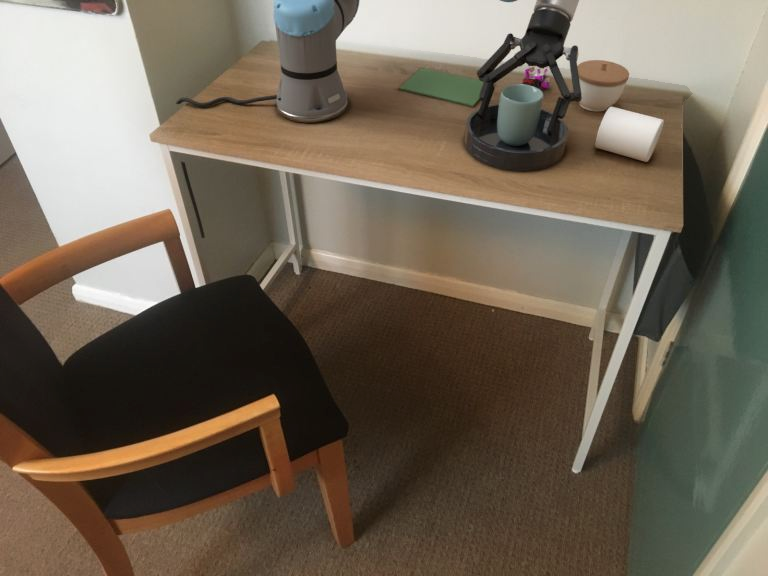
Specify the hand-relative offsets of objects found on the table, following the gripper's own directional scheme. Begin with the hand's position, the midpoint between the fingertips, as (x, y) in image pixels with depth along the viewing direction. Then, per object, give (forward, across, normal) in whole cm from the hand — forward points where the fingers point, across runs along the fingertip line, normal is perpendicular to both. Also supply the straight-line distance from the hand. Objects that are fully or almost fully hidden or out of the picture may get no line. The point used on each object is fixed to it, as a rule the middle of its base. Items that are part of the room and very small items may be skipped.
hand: (514, 125), depth 115 cm
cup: (+2, 0, -5) cm, 5 cm away
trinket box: (-15, -10, -22) cm, 29 cm away
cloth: (-10, +22, -17) cm, 30 cm away
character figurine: (-17, +4, -24) cm, 30 cm away
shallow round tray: (+2, 0, -5) cm, 6 cm away
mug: (-4, -20, -12) cm, 24 cm away
